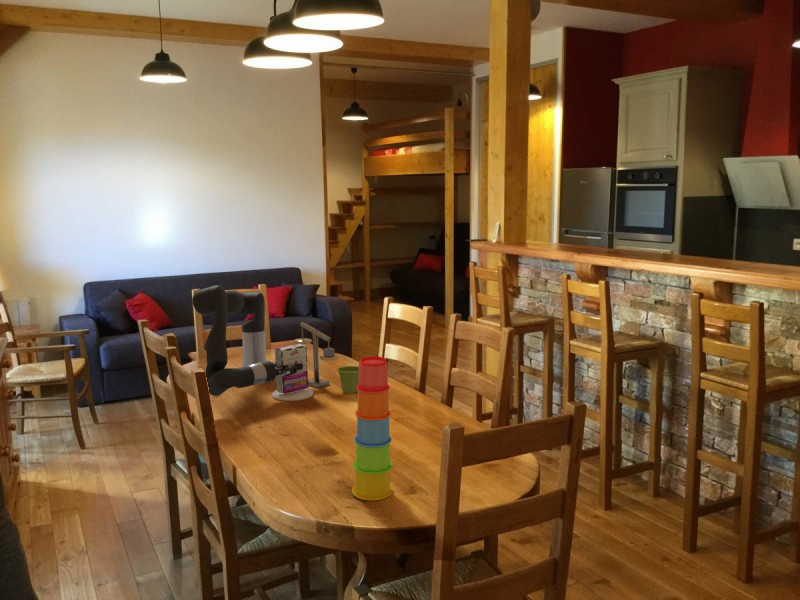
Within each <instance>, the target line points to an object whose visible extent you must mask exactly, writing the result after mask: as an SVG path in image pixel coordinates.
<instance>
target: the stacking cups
mask: <svg viewBox="0 0 800 600" xmlns="http://www.w3.org/2000/svg"><path fill="white" fill-rule="evenodd" d="M358 367H359V382H358V385H357V387H356V388H357V390H358V392H357V410H356V411H355V414H354V415H355V416H356V436H354V442H355V461H353V463H352V468H353V469H354V486H352V488H351V493H352V495H353V497H355V498H357V499H359V500H363V501H368V502H369V501H370V502H371V501H372V502H373V501H381V500H384V499H385V500H386V499H387V498H389V497H391V496H392V494H393V492H394V489H393V487H392V486H391V469H392V468H393V462H391V455H390V454H391V450H390V449H391V448H390V447H391V442H392V437H391V435H390V416H391V415H392V412H391V410H390V409H389V390H390V388H391V387H390V385H389V384H388V382H389V381H388V379H389V378H388V374H389V373H388V372H389V371H388V361H387V360H386V358H385V357H383V356H376V355H375V356H371V355H370V356H365V357H362V358H360V360H359V362H358Z"/></svg>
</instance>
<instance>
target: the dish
mask: <svg viewBox="0 0 800 600" xmlns="http://www.w3.org/2000/svg"><path fill="white" fill-rule="evenodd" d="M271 395H272V397H271V398H273V399H274V400H276V399H278V400H277V401H281V400H282V401H283V402H295V401H296V402H297V401H303V400H307V399H309V398H311V397H313V395H314V390H313V389H312V388H310V387H308V388H306V389H302V390H298V391H294V392H290V393H285V394H283V393H280V392H277V389H276V390H273V391H272V393H271Z"/></svg>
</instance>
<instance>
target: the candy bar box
mask: <svg viewBox="0 0 800 600" xmlns="http://www.w3.org/2000/svg"><path fill="white" fill-rule="evenodd" d="M307 348H308V347H307V345H306V344H297V343H295V344H291V345H285V346H281V347H276V348H274V356H275V359H274V362H275V363H277V365H278V364H280V365H286V364H288V365H295V364H299V363H302V364H303V369H301V370H297V373H295V374H292V375H290V376H285V375H281V376H276V377H275V379H276V381H275V382H276V390H277V392H280V393H283V394H285V393H290V392H294V391H298V390H302V389H306V388H309V386H308V380H309V375H308V374H309V373H308V371H309V370H308V353H307V351H308V349H307ZM286 368H287V367H285V369H286Z"/></svg>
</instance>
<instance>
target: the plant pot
mask: <svg viewBox="0 0 800 600" xmlns="http://www.w3.org/2000/svg"><path fill="white" fill-rule="evenodd" d="M337 371H338V375H339V378H340V379H339V381H340V385H341V391H342V393H344V394H355V393H358V390H357V388H356V387H357V385H358V382H359V365H358V366H357V365H356V366H355V365H345V366H341V367H338V368H337Z"/></svg>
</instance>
